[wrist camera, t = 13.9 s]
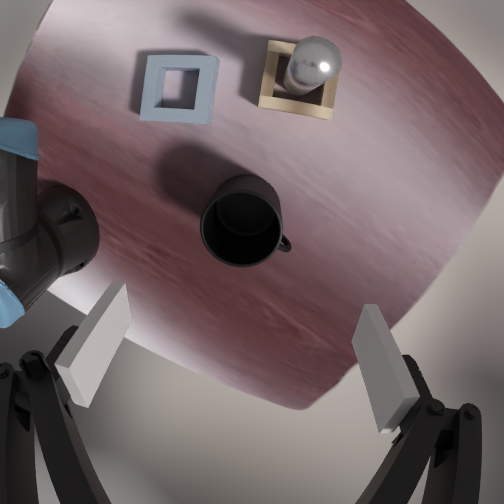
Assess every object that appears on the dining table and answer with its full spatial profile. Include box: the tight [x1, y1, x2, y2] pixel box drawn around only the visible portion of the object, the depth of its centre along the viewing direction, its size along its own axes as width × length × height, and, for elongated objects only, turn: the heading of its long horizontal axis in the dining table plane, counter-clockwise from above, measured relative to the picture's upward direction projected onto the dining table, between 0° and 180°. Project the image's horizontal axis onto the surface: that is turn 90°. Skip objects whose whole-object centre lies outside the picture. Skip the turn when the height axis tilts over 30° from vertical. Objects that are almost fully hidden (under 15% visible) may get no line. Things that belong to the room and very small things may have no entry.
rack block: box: [258, 40, 342, 120], centre depth 33 cm, size 9×9×3 cm
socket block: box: [140, 55, 220, 124], centre depth 34 cm, size 9×9×3 cm
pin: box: [283, 36, 342, 96], centre depth 27 cm, size 4×4×16 cm
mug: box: [200, 175, 291, 267], centre depth 38 cm, size 9×12×9 cm
